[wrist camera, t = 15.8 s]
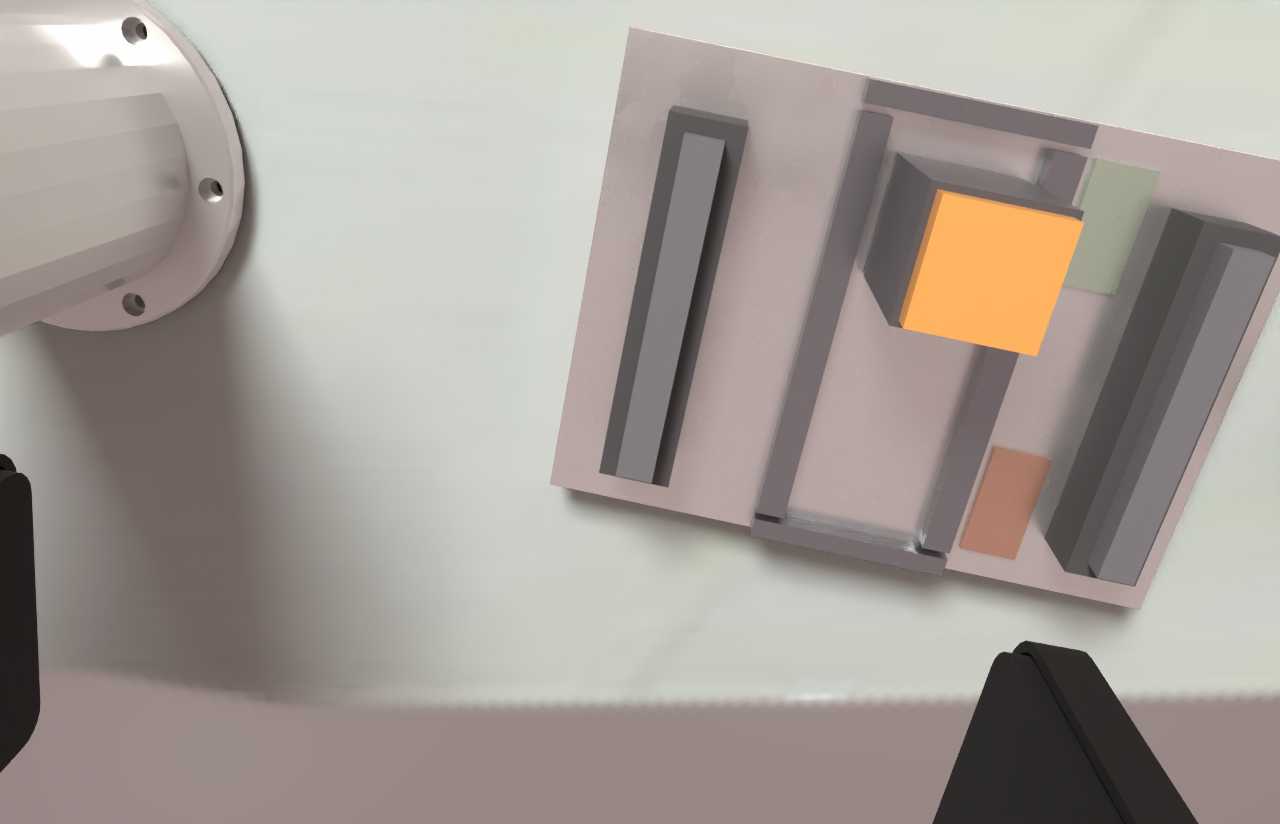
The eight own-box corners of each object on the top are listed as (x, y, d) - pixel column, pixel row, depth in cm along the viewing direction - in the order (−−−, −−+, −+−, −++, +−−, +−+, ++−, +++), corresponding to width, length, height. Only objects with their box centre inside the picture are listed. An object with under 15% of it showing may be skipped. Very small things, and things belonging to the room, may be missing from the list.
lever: (863, 275, 33) (893, 334, 27) (897, 153, 32) (937, 184, 25) (983, 300, 33) (1041, 364, 27) (1022, 178, 32) (1094, 216, 25)
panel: (558, 462, 39) (546, 493, 36) (635, 26, 33) (627, 26, 30) (1119, 581, 39) (1147, 621, 36) (1297, 163, 33) (1346, 174, 30)
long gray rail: (607, 445, 36) (595, 485, 33) (673, 104, 32) (666, 113, 29) (1110, 552, 36) (1146, 602, 33) (1247, 223, 32) (1304, 244, 28)
